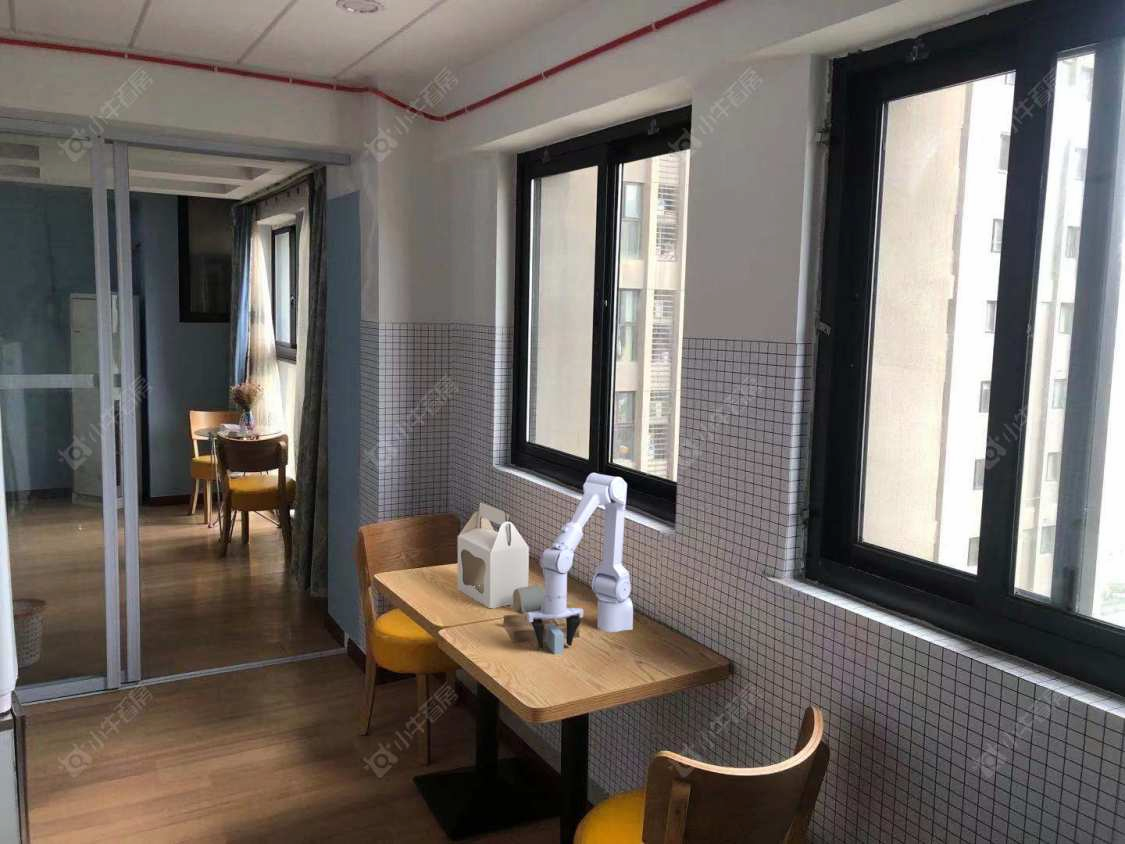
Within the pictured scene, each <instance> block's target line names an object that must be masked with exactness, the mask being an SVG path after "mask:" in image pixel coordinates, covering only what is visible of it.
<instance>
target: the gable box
mask: <svg viewBox="0 0 1125 844" xmlns="http://www.w3.org/2000/svg"><path fill="white" fill-rule="evenodd" d="M511 515H512V514H509V513H507V512H506V510H503V509H500V508H497V507H495V506H493V505H490V504H488V503H485V502H482V501H481V502H480V503H479V509H478V510H475V511H474V512H473V513H472V515H471V516H470V517H469V519H468V520H467V522H466V524H465V525H464V526H463V528H462V529H461V531H460V532H459V534H458V535H457V590H458V589H459V590H460V591H459V590H458V591H459V592H461V591H462V592H463V593H462V592H461V593H462V594H464V593H465V594H464V595H466V596H467V595H468V597H469V598H471V599H472V598H473V600H474V601H476V602H477V601H478V603H479V602H480V603H479V604H481V605H482V604H483V606H484V607H486V608H487V607H488V608H487V609H489V608H493V609H497V608H496V607H499V608H502V607H501V606H504V607H508V606H507V605H510V606H514V605H513V604H514V602H513V593H514V591H515V589H518V588H522V587H528V586H529V579H530V578H529V575H530V574H529V572H530V570H529V567H530V566H529V565H530V564H529V563H530V562H529V559H530V558H529V557H530V547H529V545H528V544H527V542H526V541H525V539H524V538H523V536H522V535H521V533H520V532H519V531H518V529H517V528H516V526H515V525H514V523H512V522H511V521H509V520H510V518H511ZM491 522H493V523H495V524H498V525H499V529H498V530H497V531H496V530H495V529H494V527H493V526H492V524H491ZM479 585H480V586H479ZM474 586H475V587H474Z"/></svg>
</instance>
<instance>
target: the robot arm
mask: <svg viewBox="0 0 1125 844" xmlns="http://www.w3.org/2000/svg"><path fill="white" fill-rule="evenodd" d="M582 488H583V489H582V490H583V495H582V497H581V499H580V502H579V503H578V505H577V508H576V509H575V511H574V514H573V516H572V518H571V520H570V522H567V523H564V524H563V526H562V527H561V529H560V531H559V532H558V534H557V535H556V538H555V539H554V541H553V542H552V545H551V546H550V547H548V548H547V549H545V550H543V552H542V554H541V557H540V559H539V565H540V566H541V567H540V568H542V575H543V576H544V596H545V599H544V609H543V610H539V611H530V612H526V613H527V620H528V621H529V622H531V623H532V626H533V628H534V630H535V633H536V636H537V641H536V642H537V645H538V648H539V649H541V650H542V649H544V640H543V632H544V625H543V622H542V620H549V619H560V618H566V624H567V637H566V638H565V639H566V644H567V645H568V647H571V646H572V643H573V640H574V638H573V637H574V634H575V632H576V630H577V628H578V626H580V625H581V619H580V618H584V609H583V608H582V607H567V604H568V603H567V601H568V600H567V598H568V572H569V571H570V569H571V568H572V566H573V560H574V559H573V558H574V556H575V550H576V548H578V545H579V543H580V541H581V540H582V538H583V536H584V533H583V528H584V526H585V524H586V523H587V522H588V520H589V519H590V517H591V516H592V514H593V513H594V512H595V510H596V509H597V507H598V506H602V505H603V506H604V508H605V513H604V525H603V527H604V528H603V542H602V559H601V564H600V565H598V566H597V567H595V569H594V576H593V578H592V580H591V590H592V592H593V593H594V594H595V598H597V621H596V622H597V626H596V627H597V629H598V630H599V631H602V632H606V633H607V632H608V633H616V632H620V631H631V630H633V629H634V627H633V626H634V605H633V601H632V599H631V598H630V597H629V596H630V594H631V590H632V583H631V581H630V572H629V571H628V570H627V569H626V568H625V567H624V566H623V548H624V547H623V546H624V534H625V533H624V532H625V517H626V515H625V514H626V504H627V491H628V490H627V489H628V483H627V481H625V480H624V478H622V477H620V476H614V475H613V476H612V475H607V474H600V473H596V472H591V473H590V474H588V475H587V477H586V479H585V482H584V484H582Z"/></svg>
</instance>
